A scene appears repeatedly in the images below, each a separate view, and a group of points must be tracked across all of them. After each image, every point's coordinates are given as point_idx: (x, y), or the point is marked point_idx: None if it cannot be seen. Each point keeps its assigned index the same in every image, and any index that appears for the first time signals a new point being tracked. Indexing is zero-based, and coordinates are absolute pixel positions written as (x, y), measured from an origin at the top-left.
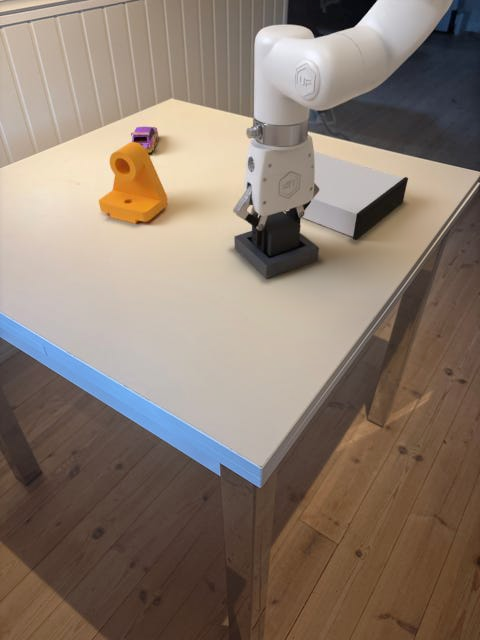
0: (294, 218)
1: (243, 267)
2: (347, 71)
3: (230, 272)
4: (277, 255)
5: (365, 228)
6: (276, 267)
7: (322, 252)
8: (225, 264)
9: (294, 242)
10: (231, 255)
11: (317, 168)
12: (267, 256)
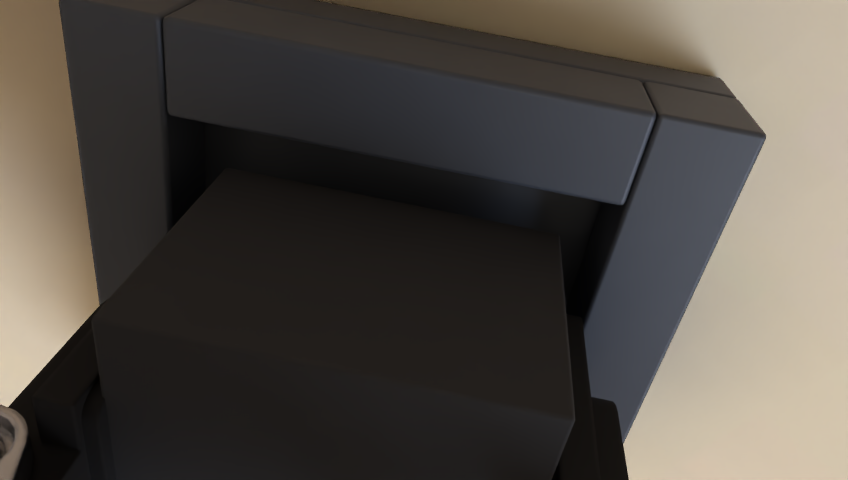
0: (89, 442)
1: (702, 307)
2: None
3: (826, 327)
4: None
5: None
6: (624, 86)
7: (38, 29)
8: (758, 405)
9: (262, 209)
10: (637, 439)
11: None
12: None
